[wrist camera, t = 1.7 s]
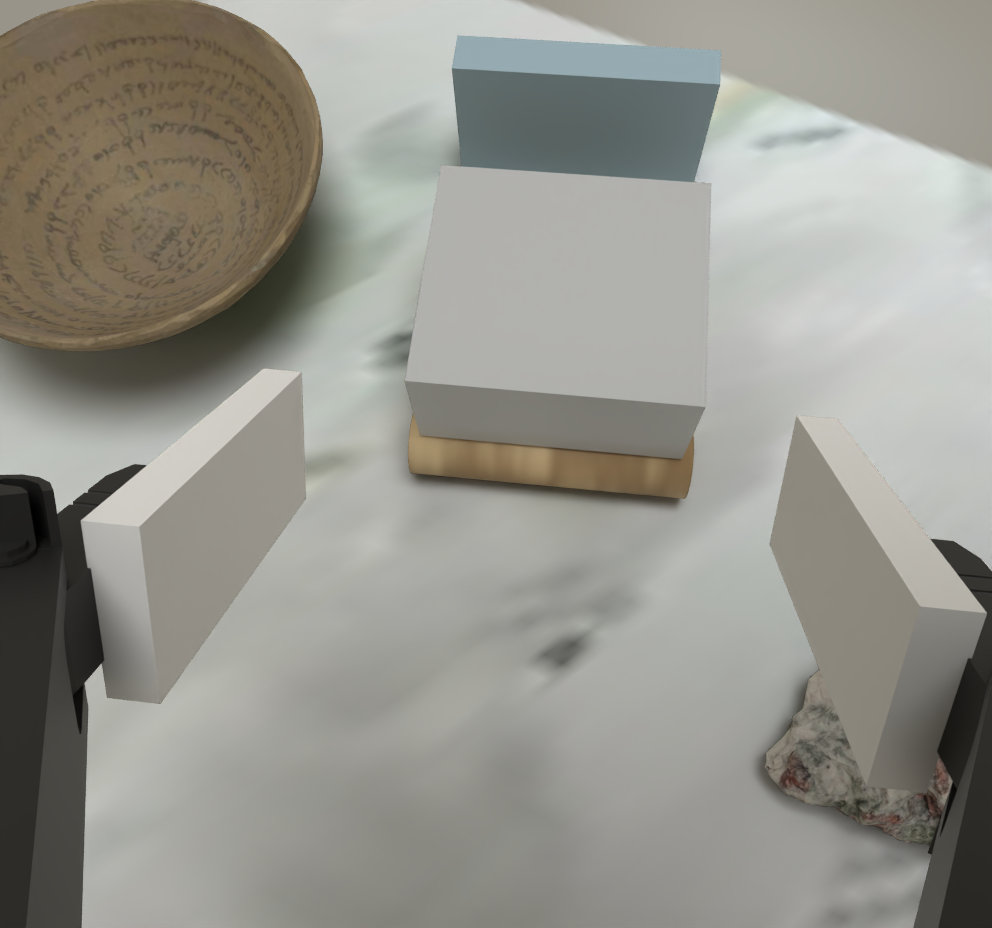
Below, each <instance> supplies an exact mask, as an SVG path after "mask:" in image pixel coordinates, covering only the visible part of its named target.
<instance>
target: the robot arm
mask: <svg viewBox="0 0 992 928" xmlns="http://www.w3.org/2000/svg"><path fill="white" fill-rule="evenodd" d="M305 499H306V487H305V456H304V425H303V395H302V372H298V371H286V370H275V369H262V370H261V371H260V372H259V373H258V374H256V375H255V376H254V377H253V378H252V379H250V380H249V381H248V382H247V383H246V384H244V385H243V386H242V387H241V388H240V389H238V390H237V391H236V392H235V393H234V394H232V395H231V396H230V397H229V398H228V399H226V400H225V401H224V402H223V403H222V404H220V405H219V406H218V407H217V408H216V409H214V410H213V411H212V412H211V413H210V414H208V415H207V416H206V417H205V418H204V419H202V420H201V421H200V422H199V423H198V424H196V425H195V426H194V427H193V428H191V429H190V430H189V431H188V432H187V433H185V434H184V435H183V436H182V437H181V438H179V439H178V440H177V441H176V442H175V443H173V444H172V445H171V446H170V447H169V448H167V449H166V450H165V451H164V452H163V453H161V454H160V455H159V456H158V457H157V458H155V459H154V460H153V461H152V462H151V463H149V464H148V465H137V464H134V465H131V466H129V467H126V468H124V469H122V470H119V471H117V472H114V473H112V474H109V475H107V476H105V477H104V478H103V479H101V480H100V481H99V482H98V483H96V484H95V485H94V486H93V487H91V488H90V489H89V490H88V493H84V494H82V495H81V496H80V497H78V498H77V499H76V500H75V501H73V505H68V506H67V507H66V508H64V509H63V510H62V511H61V512H59V513H58V514H57V510H56V504H55V498H54V492H53V488H52V486H51V484H50V482H48V481H46V480H44V479H42V478H40V477H34V476H28V475H0V928H81V925H82V893H83V861H84V829H85V797H86V765H87V733H88V703H87V696H86V690H85V684H84V683H85V682H86V680H87V679H88V678H89V677H90V676H91V675H92V673H93V672H94V671H95V670H96V669H97V668H98V667H99V665H100V664H101V663H102V667H103V674H104V681H105V687H106V694H107V698H114V699H123V700H131V701H140V702H149V703H157V704H161V702H162V701H163V699H164V698H165V697H166V695H167V694H168V692H169V691H170V690H171V688H172V687H173V685H174V684H175V683H176V681H177V680H178V678H179V677H180V676H181V674H182V673H183V671H184V670H185V668H186V667H187V666H188V664H189V663H190V661H191V660H192V659H193V657H194V656H195V654H196V653H197V652H198V650H199V649H200V647H201V646H202V644H203V643H204V642H205V640H206V639H207V637H208V636H209V635H210V633H211V632H212V630H213V629H214V628H215V626H216V625H217V623H218V622H219V620H220V619H221V618H222V616H223V615H224V613H225V612H226V611H227V609H228V608H229V606H230V605H231V604H232V602H233V601H234V599H235V598H236V596H237V595H238V594H239V592H240V591H241V589H242V588H243V587H244V585H245V584H246V582H247V581H248V580H249V578H250V577H251V575H252V574H253V573H254V571H255V570H256V568H257V567H258V565H259V564H260V563H261V561H262V560H263V558H264V557H265V556H266V554H267V553H268V551H269V550H270V549H271V547H272V546H273V544H274V543H275V541H276V540H277V539H278V537H279V536H280V534H281V533H282V532H283V530H284V529H285V527H286V526H287V525H288V523H289V522H290V520H291V519H292V517H293V516H294V515H295V513H296V512H297V510H298V509H299V508H300V506H301V505H302V503H303V502H304V501H305ZM770 546H771V549H772V551H773V554H774V556H775V559H776V561H777V564H778V566H779V569H780V571H781V574H782V576H783V579H784V581H785V584H786V586H787V589H788V591H789V594H790V596H791V599H792V601H793V604H794V606H795V609H796V611H797V614H798V616H799V619H800V621H801V624H802V626H803V629H804V632H805V634H806V637H807V639H808V642H809V644H810V647H811V649H812V652H813V654H814V657H815V659H816V662H817V664H818V667H819V669H820V672H821V674H822V677H823V679H824V682H825V684H826V687H827V689H828V692H829V694H830V697H831V699H832V702H833V704H834V707H835V709H836V712H837V714H838V717H839V719H840V722H841V724H842V727H843V729H844V732H845V734H846V737H847V739H848V742H849V744H850V747H851V749H852V752H853V754H854V757H855V759H856V762H857V764H858V767H859V769H860V772H861V774H862V777H863V779H864V782H865V784H866V786H869V787H877V788H886V789H895V790H903V791H912V792H920V793H927V791H928V788H929V785H930V782H931V779H932V776H933V773H934V770H935V767H936V764H937V761H938V758H939V756H940V758H941V760H942V762H943V764H944V766H945V768H946V770H947V771H948V773H949V775H950V777H951V779H952V781H953V782H952V785H951V788H950V791H949V794H948V797H947V799H946V802H945V805H944V808H943V811H942V814H941V817H940V819H939V822H938V825H937V828H936V831H935V834H934V837H933V840H932V842H931V845H930V848H929V851H928V853H929V854H932V856H931V860H930V864H929V868H928V872H927V876H926V880H925V884H924V888H923V892H922V896H921V900H920V904H919V908H918V912H917V916H916V920H915V924H914V928H992V571H991V570H990V569H989V568H988V567H987V565H986V564H985V563H984V562H983V561H982V559H980V558H979V557H977V556H976V555H974V554H973V553H971V552H970V551H968V550H966V549H965V548H963V547H962V546H960V545H959V544H957V543H956V542H954V541H947V540H937V539H930V538H929V537H928V535H927V534H926V533H925V532H924V530H923V529H922V528H921V526H920V525H919V524H918V522H917V521H916V520H915V518H914V517H913V516H912V515H911V513H910V512H909V511H908V509H907V508H906V507H905V505H904V504H903V503H902V502H901V500H900V499H899V498H898V496H897V495H896V494H895V492H894V491H893V490H892V489H891V487H890V486H889V485H888V483H887V482H886V481H885V479H884V478H883V477H882V475H881V474H880V473H879V472H878V470H877V469H876V468H875V466H874V465H873V464H872V462H871V461H870V460H869V459H868V457H867V456H866V455H865V453H864V452H863V451H862V449H861V448H860V447H859V445H858V444H857V443H856V442H855V440H854V439H853V438H852V436H851V435H850V434H849V432H848V431H847V430H846V429H845V427H844V426H843V425H842V423H841V422H840V421H839V419H833V418H821V417H810V416H798V415H797V416H796V421H795V426H794V430H793V435H792V440H791V445H790V449H789V454H788V459H787V464H786V468H785V473H784V478H783V483H782V488H781V492H780V497H779V502H778V507H777V511H776V516H775V521H774V526H773V530H772V535H771V540H770Z"/></svg>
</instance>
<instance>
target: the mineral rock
mask: <svg viewBox="0 0 992 928" xmlns="http://www.w3.org/2000/svg"><path fill="white" fill-rule="evenodd" d="M766 758H767V761H766V764H765V768H766V770H767V771H768V773H769V777H771V778H772V779H773V781H774V782H775V783H776V784H777V786H778V787H779V788H780V789H781V790H782V791H783V792H784V794H785V795H789V796H791V797H793V798H796V799H799V800H801V801H802V802H804V803H807V804H813V805H818V806H823V807H834V808H837V809H838V810H839V811H841V812H843V813H844V814H845V815H847V816H851V817H852V818H853V819H855V820H856V821H857V822H858V823H859V824H862V825H875V826H878V827H881V828H882V829H883V831H884V832H885V833H887V834H889V835H891V836H893V837H895V838H896V839H898V840H901V841H904V842H906V843H909V842H916V843H921V844H926V845H929V846H930V845H931V842H932V840H933V837H934V834H935V831H936V828H937V825H938V822H939V819H940V817H941V814H942V811H943V808H944V805H945V802H946V799H947V797H948V794H949V791H950V788H951V785H952V782H953V781H952V779H951V777H950V775H949V773H948V771H947V770H946V768H945V766H944V764H943V762H942V760H941V758H940V756H939V758H938V761H937V764H936V767H935V770H934V773H933V776H932V779H931V782H930V785H929V788H928V791H927V793H920V792H912V791H903V790H895V789H886V788H877V787H869V786H866V784H865V782H864V779H863V777H862V774H861V772H860V769H859V767H858V764H857V762H856V759H855V757H854V754H853V752H852V749H851V747H850V744H849V742H848V739H847V737H846V734H845V732H844V729H843V727H842V724H841V722H840V719H839V717H838V714H837V712H836V709H835V707H834V704H833V702H832V699H831V697H830V694H829V692H828V689H827V687H826V684H825V682H824V679H823V677H822V674H821V672H820V670H818V671H817V672H816V673H815V674H814V675H813V676H811V677H810V678H809V680H808V686H807V690H806V695H805V701H804V706H803V709H802V710H801V711H799V712H798V713H797V714H795V715H794V716H793V717H792V723H791V725H790V728H789V729H788V731H787V732H786V733H785V735H784V736H783V737H782V739H780V740H779V741H778V742H777V743H776V744H775V745H774V746H773V747H772V748H771V749H769V750H768V752H767V753H766Z"/></svg>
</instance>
